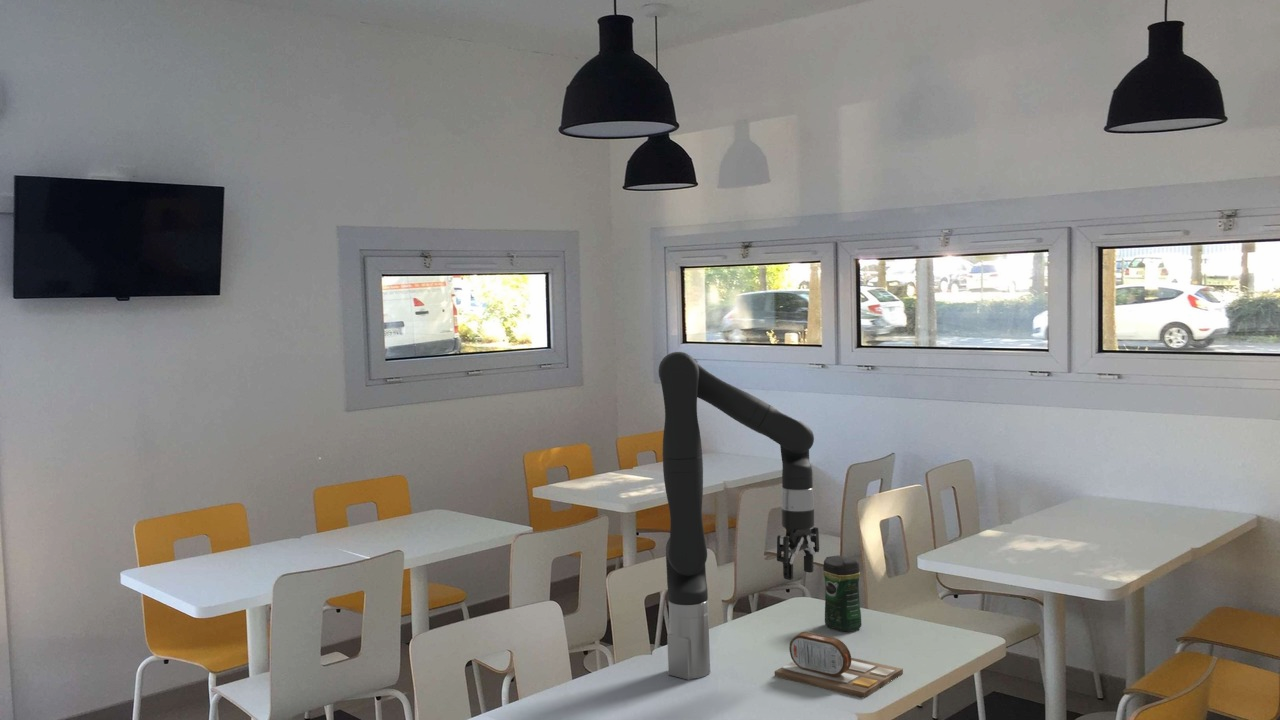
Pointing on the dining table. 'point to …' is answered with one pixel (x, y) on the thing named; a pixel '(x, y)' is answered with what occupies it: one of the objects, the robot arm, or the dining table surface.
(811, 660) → the tin
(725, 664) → the dining table surface
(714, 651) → the dining table surface
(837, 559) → the coffee jar
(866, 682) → the board
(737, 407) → the robot arm
